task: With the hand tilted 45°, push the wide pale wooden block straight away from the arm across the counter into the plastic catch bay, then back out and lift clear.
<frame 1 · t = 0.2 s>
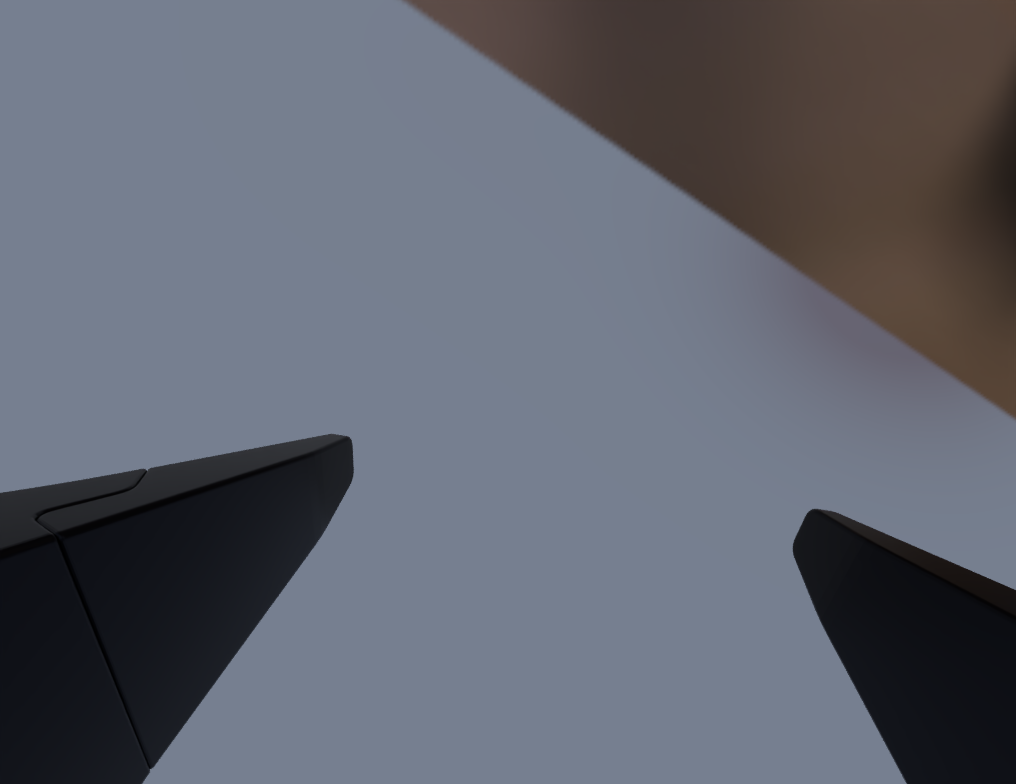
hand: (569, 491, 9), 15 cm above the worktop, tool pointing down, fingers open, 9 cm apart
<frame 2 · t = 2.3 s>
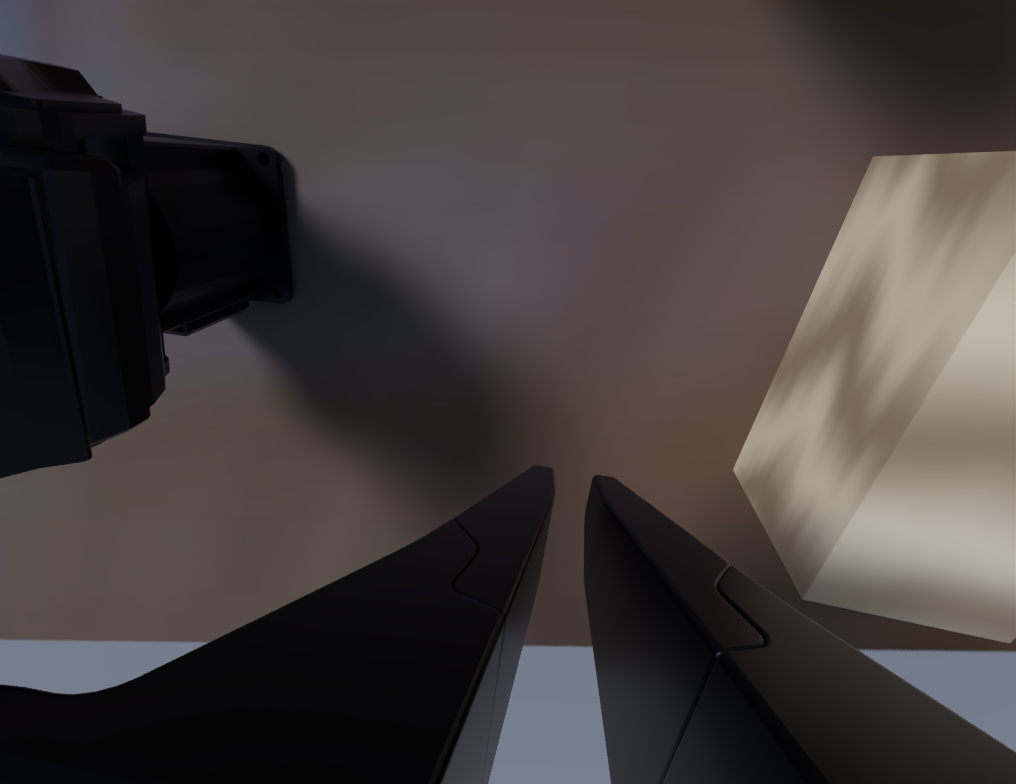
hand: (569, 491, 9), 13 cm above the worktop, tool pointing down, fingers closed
wide block: (873, 351, 20), on the worktop
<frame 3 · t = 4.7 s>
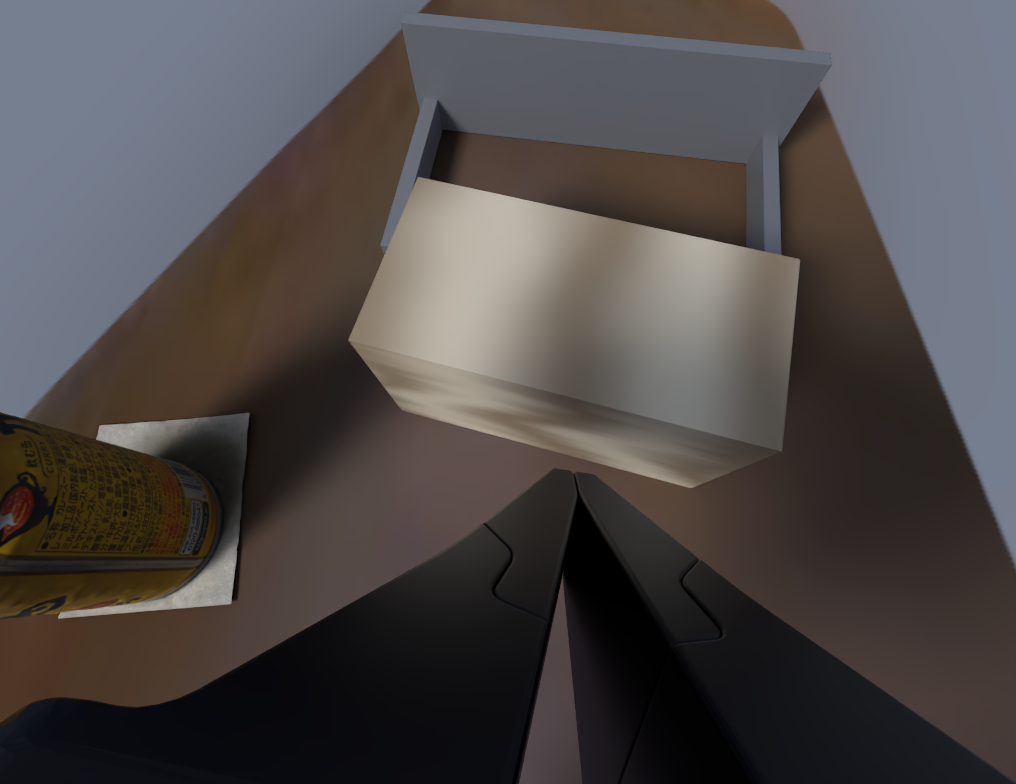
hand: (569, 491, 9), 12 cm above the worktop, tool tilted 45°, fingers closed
condiment: (167, 510, 22), on the worktop
wide block: (559, 381, 24), on the worktop
catch bay: (581, 214, 27), on the worktop
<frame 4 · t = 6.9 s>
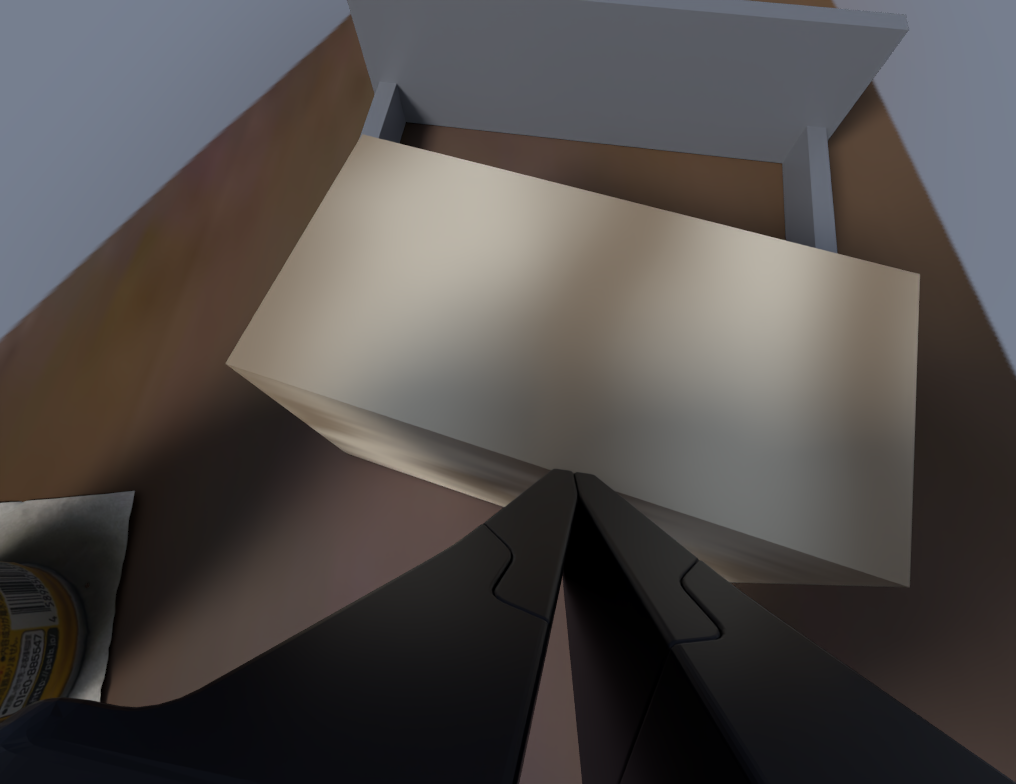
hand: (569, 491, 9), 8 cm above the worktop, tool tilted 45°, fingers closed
condiment: (15, 627, 16), on the worktop
wide block: (554, 424, 18), on the worktop, touching gripper
catch bay: (577, 227, 21), on the worktop
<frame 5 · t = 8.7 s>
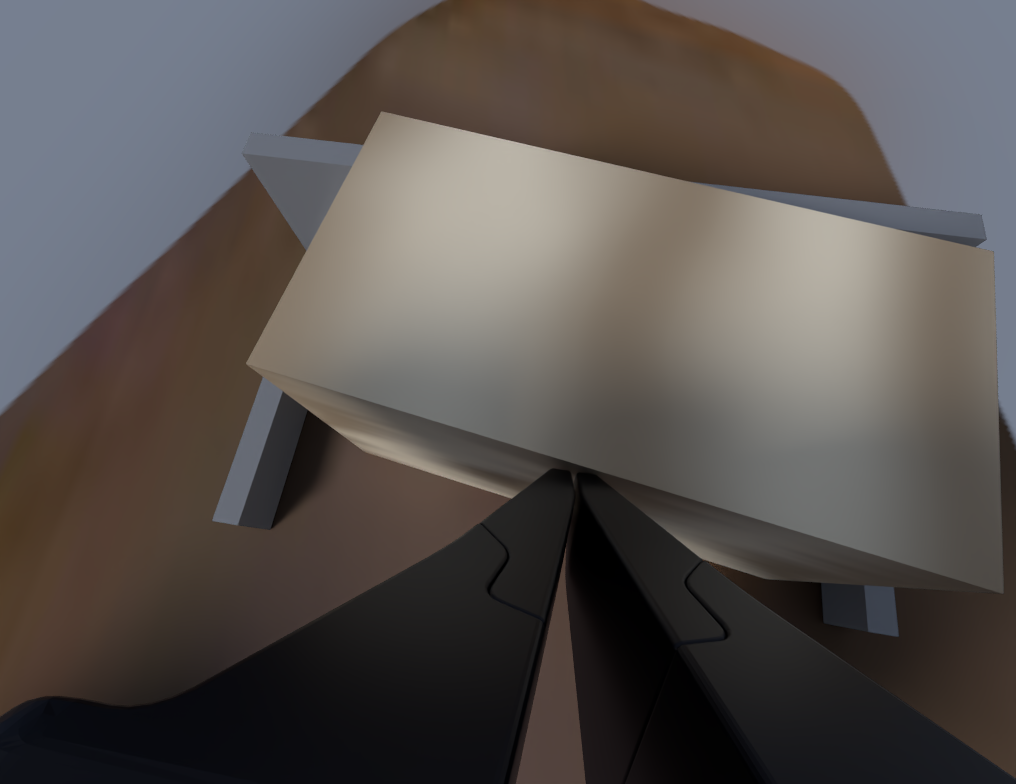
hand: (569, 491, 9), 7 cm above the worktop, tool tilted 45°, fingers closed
wide block: (581, 417, 17), on the worktop, touching catch bay, gripper
catch bay: (555, 426, 17), on the worktop
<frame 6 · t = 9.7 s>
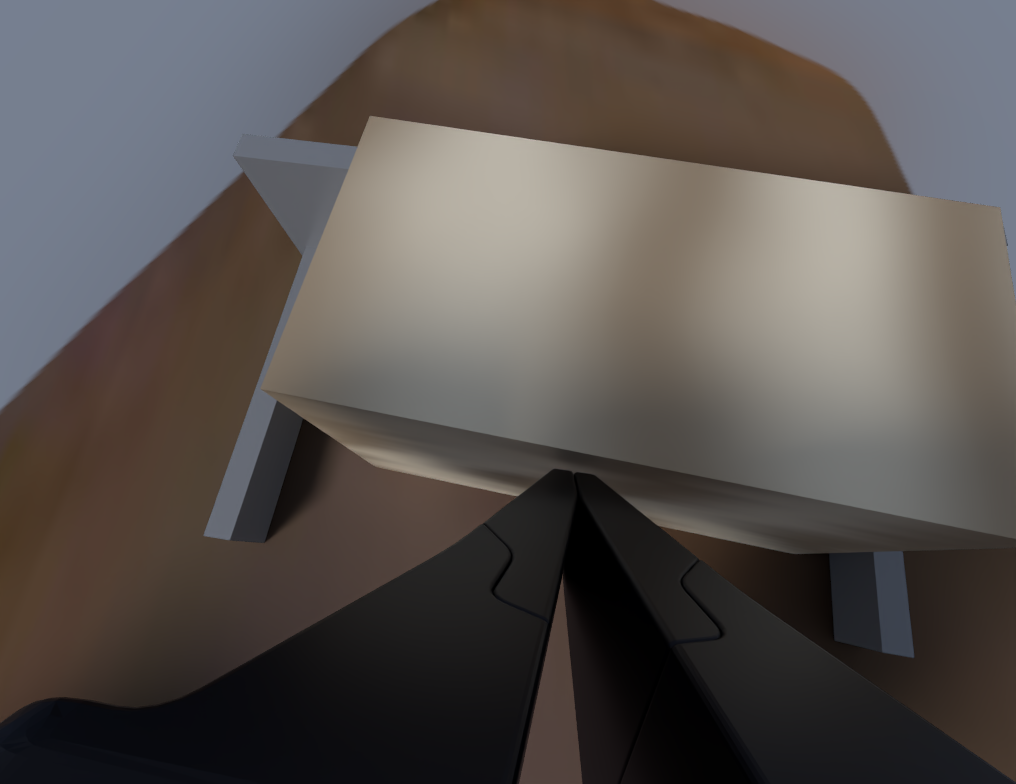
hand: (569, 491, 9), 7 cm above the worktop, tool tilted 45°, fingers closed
wide block: (591, 411, 17), on the worktop
catch bay: (557, 436, 17), on the worktop
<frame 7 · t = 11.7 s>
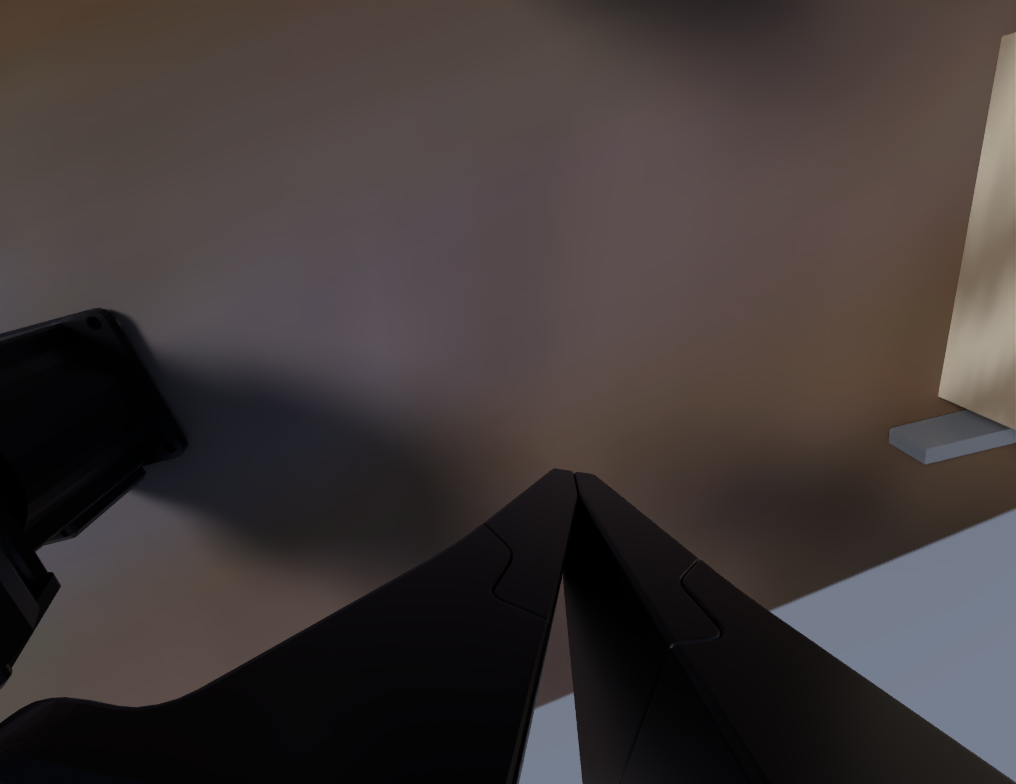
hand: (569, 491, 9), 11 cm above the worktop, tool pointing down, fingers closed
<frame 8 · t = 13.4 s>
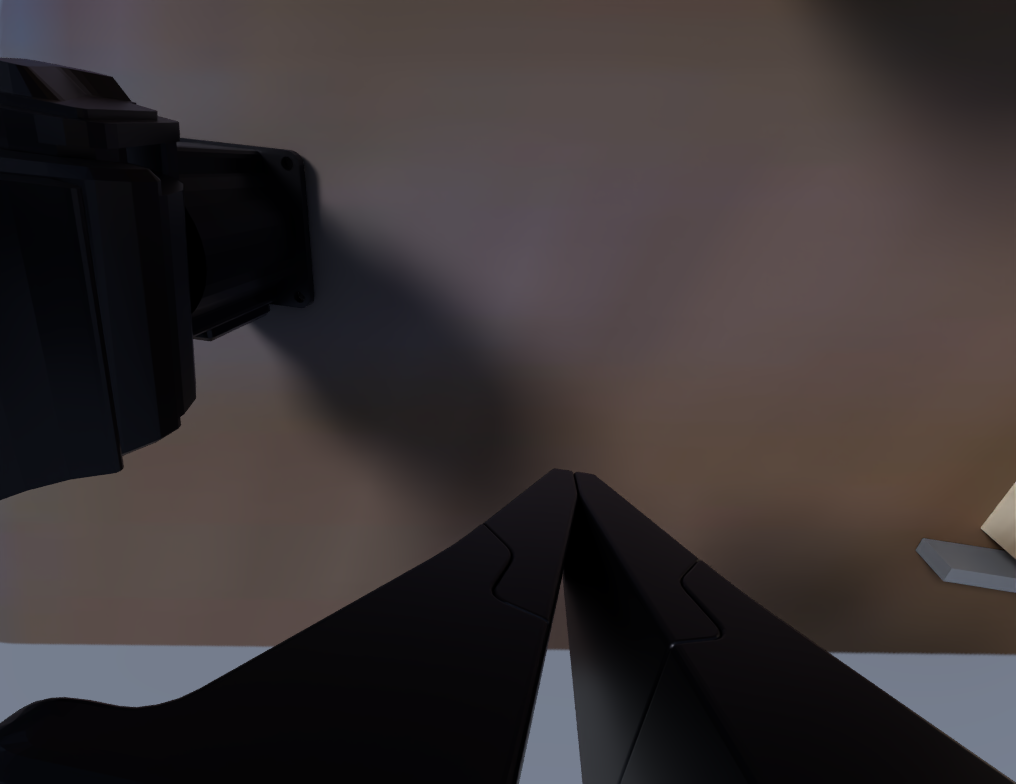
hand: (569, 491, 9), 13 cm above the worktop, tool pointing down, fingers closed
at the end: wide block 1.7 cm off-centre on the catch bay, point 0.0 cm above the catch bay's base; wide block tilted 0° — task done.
